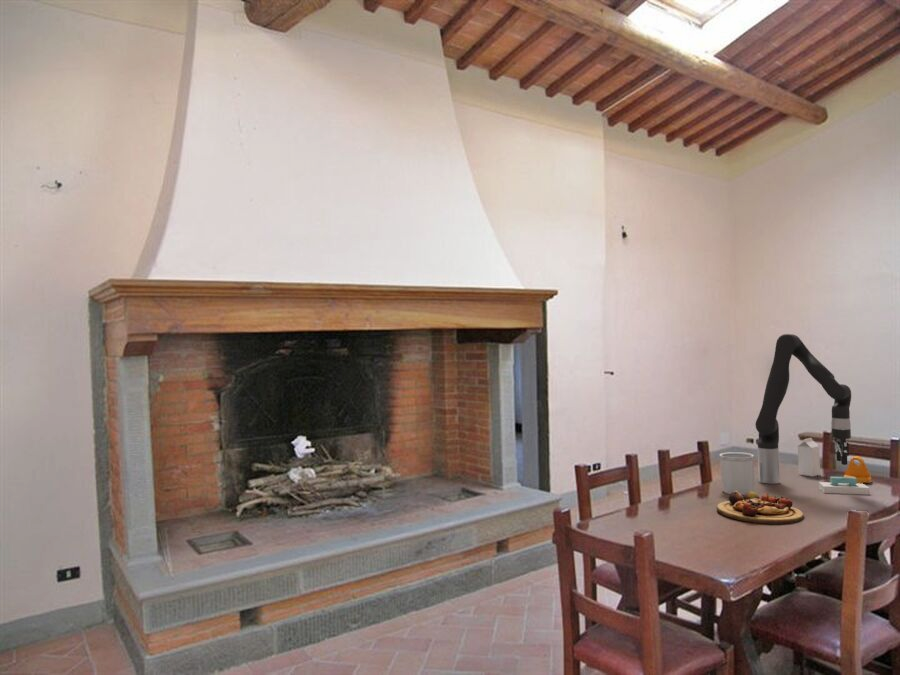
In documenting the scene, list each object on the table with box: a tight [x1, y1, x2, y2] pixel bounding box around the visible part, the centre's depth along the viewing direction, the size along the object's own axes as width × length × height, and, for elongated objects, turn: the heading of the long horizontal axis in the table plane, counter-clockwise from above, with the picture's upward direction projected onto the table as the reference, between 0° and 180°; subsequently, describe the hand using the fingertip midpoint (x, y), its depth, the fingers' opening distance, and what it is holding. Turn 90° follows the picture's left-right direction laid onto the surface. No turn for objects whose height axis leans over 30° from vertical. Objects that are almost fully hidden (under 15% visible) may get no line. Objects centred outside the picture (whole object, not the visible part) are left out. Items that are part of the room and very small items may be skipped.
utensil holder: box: [719, 451, 756, 496], centre depth 288 cm, size 15×15×18 cm
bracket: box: [842, 455, 872, 484], centre depth 300 cm, size 11×7×12 cm, turn 50°
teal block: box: [829, 476, 857, 486], centre depth 282 cm, size 10×3×6 cm, turn 72°
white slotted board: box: [818, 481, 871, 496], centre depth 282 cm, size 18×9×3 cm, turn 71°
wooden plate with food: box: [716, 491, 805, 525], centre depth 251 cm, size 32×32×8 cm
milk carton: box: [797, 437, 821, 477], centre depth 318 cm, size 7×7×19 cm
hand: (841, 462), depth 282 cm, fingers open, 8 cm apart
